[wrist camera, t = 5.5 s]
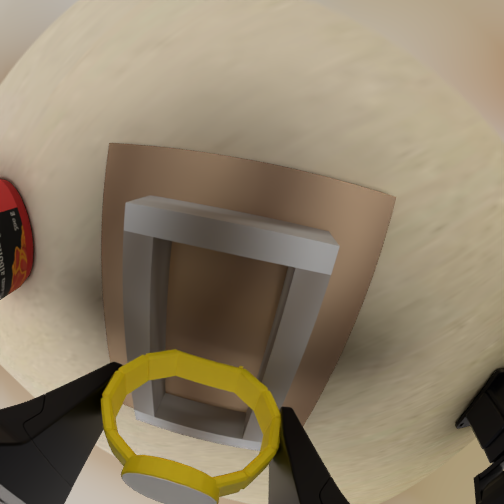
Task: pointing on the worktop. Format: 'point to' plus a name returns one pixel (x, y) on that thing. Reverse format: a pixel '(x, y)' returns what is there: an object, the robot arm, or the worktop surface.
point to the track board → (232, 279)
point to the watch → (173, 473)
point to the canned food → (13, 240)
